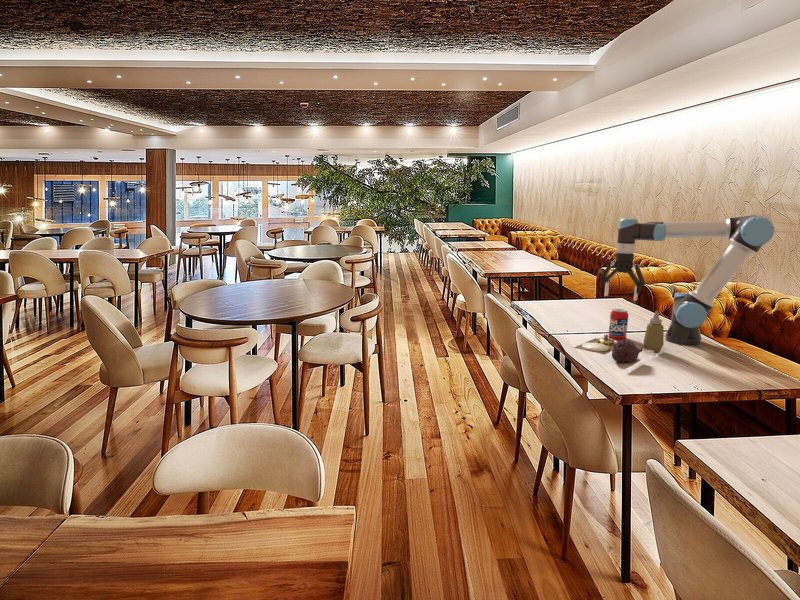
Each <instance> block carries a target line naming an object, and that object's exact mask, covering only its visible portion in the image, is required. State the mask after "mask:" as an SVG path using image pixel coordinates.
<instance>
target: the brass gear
mask: <svg viewBox="0 0 800 600" xmlns="http://www.w3.org/2000/svg"><path fill="white" fill-rule="evenodd" d="M608 335H609V334H606V333H604V334H603V337H600V338H598V337H596V338H597V343H600V344H604V345H607V346H610V345H614V342H615V340H614V339H610V338H609V337H608Z"/></svg>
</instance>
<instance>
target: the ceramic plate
mask: <svg viewBox="0 0 800 600" xmlns="http://www.w3.org/2000/svg"><path fill="white" fill-rule="evenodd" d="M581 344H582V347H583V348H584V349H586V350H590V351H589V352H591V351H597V352H603V351H608V350H609V347H608V346H607V345H604V344H600V343H585V342H584V344H583V343H581ZM586 350H585V351H586Z"/></svg>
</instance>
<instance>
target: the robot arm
mask: <svg viewBox="0 0 800 600" xmlns="http://www.w3.org/2000/svg"><path fill="white" fill-rule="evenodd" d="M617 231H618V232H617V242H616V253H615V262H613V260H612V261H608V263H607V266H606V268H605V269H604V271H603V273H602V274H601V275H600V277H599V280H600V281H602V282H603V285H602V289H604V293H603V294H604V295H603V296H604V297H608V296H609V289H610V279H612V278H613V277H614V276H615V275H616V274H617V273H619V274H620V273H622V274H627V275H629V277H630V278H631V279H632V281H633V282H634V284H635V286H634V291H633V292H634V293H633V301H635V302H636V301H637V300H638V297H639V295H640V293H641V291H642V290H641V287H643V286H645V285H646V283H647V282H646V281H645V279H644V276H643V273H642V270H641V264H639V263H637V264H634V257H635V253H634V252H635V249H636V248H635V246H636V241H651V242H663V241H664V240H665V239H681V238H682V239H685V238H686V239H687V238H689V239H690V238H691V239H693V238H701V239H702V238H725V239H726V240H729V245H728V246H727V248H726V249H725V250H724V252H723V253H722V254H721V256H719V258H718V259H717V261H716V262H715V263H714V264H713V266H712V267H711V268H710V270H709V271H708V272H707V273H706V275H705V276H704V278H702V280H701V281H700V282H699V284H698V285H697V286H696V287H695V289H694V290H690V291H688V292H675V293H674V295H673V305H672V313H671V322H670V325H669V326H668V328H667V331H666V333H665V335H664V336H665V338H664V340H666V341H667V342H671V343H673V344H677V345H678V344H679V345H686V346H695V345H696V344H697V345H700V344H701V343H702V334H701V331H700V326H702V325H704V323H705V321H706V320H707V317H708V314H709V313H710V312H711V310H712V309H713V308H714V301H715V299H716V298H717V297H718V295H719V294H720V293H721V292H722V291H723V290H724V288H725V287H726V286H727V284H728V283H729V282H730V280H731V279H732V278H733V277H734V275H736V274H737V272H738V271H739V269H740V268H741V267H742V265H744V263H745V261H746V260H747V259H748V258H749V257H750V256H751V255H754V254H757V253H758V252H759V251H760V249H761V248H762V247H763V246H764V245H767V243H769V242H770V241H771V240H772V239H773V237H774V234H775V226H774V225H773V223H772V221H771V220H769V219H768V218H766V217H763V216H761V215H753V214H752V215H751V214H750V215H743V216H738V217H737V216H736V217H727V218H726V219H725V220H724V219H721V220H719V219H718V220H717V219H716V220H714V219H713V220H687V221H686V220H685V221H684V220H683V221H681V220H680V221H679V220H677V221H675V220H674V221H647V222H645V223H643V222H642V223H641V222H640V223H639V222H638V219H637V218H630V217H628V218H627V217H625V218H624V217H623V218H620V220H619V222H618V230H617ZM612 267H615V268H614V269H613V270H612V271H611V269H612ZM634 270H635V273H636V274H635V273H634ZM610 271H611V272H610ZM609 272H610V273H609Z"/></svg>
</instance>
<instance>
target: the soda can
mask: <svg viewBox="0 0 800 600" xmlns="http://www.w3.org/2000/svg"><path fill="white" fill-rule="evenodd" d="M609 314H610V315H609V316H610V317H609V326H608V334H607V335H608V338H609V339H611V340H614V341H622V340H627V336H628V323H629V313H628V309H627V310H626V309H625V308H624V309H622V308H613V309H612V310H611V312H610V313H609Z"/></svg>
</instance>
